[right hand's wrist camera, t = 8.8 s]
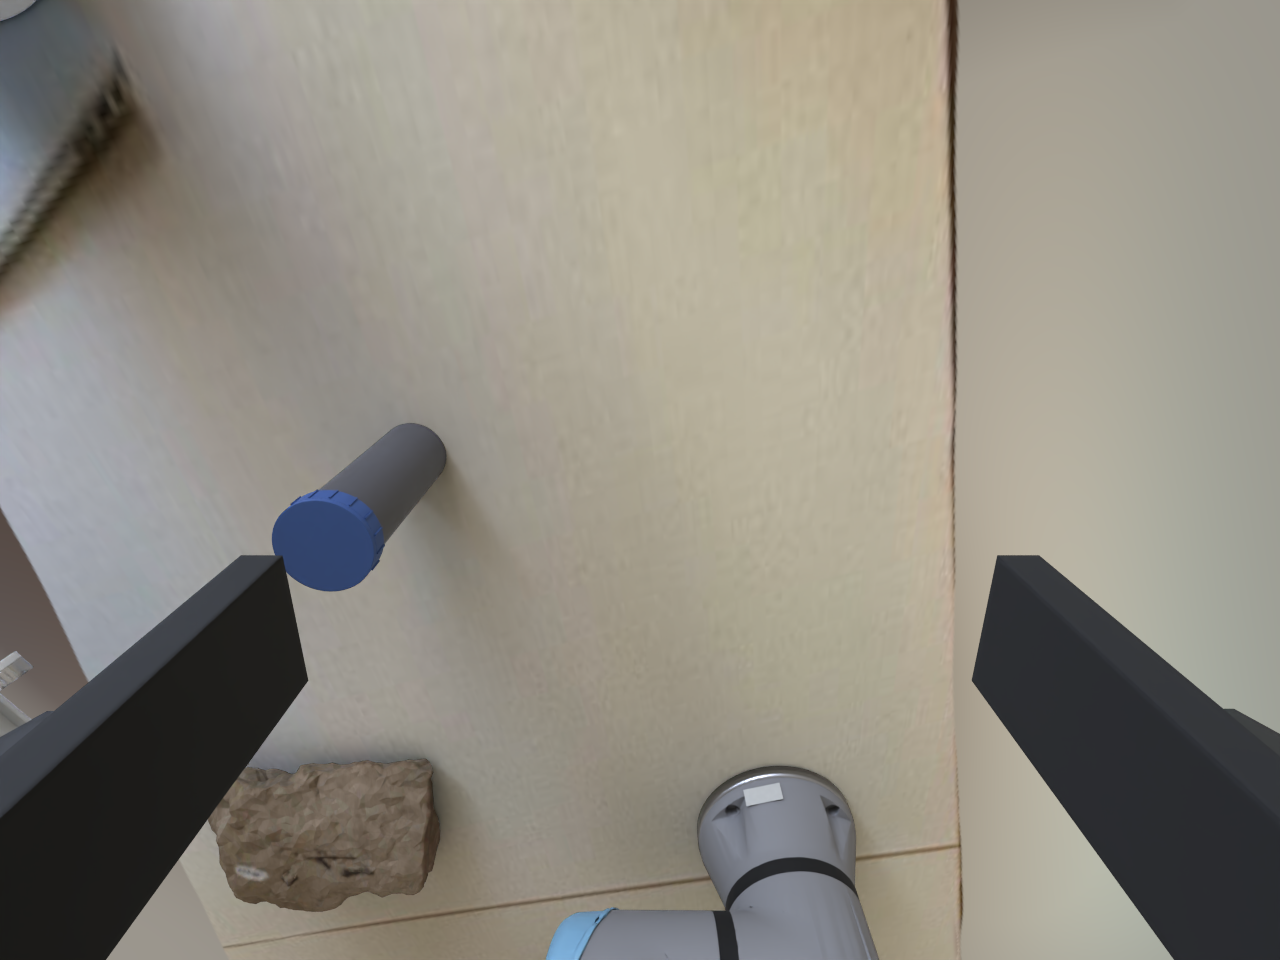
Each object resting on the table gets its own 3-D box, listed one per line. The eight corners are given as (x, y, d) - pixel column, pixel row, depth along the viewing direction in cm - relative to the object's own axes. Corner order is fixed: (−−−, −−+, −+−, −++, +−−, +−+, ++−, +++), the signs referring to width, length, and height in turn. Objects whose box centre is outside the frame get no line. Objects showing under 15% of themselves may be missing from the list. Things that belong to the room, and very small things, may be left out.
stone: (219, 890, 67) (190, 939, 61) (209, 747, 65) (178, 783, 59) (442, 868, 70) (435, 912, 64) (439, 732, 68) (432, 764, 63)
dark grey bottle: (454, 438, 54) (381, 522, 39) (435, 493, 56) (357, 594, 40) (392, 413, 53) (293, 489, 38) (374, 469, 55) (272, 564, 40)
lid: (396, 511, 40) (387, 523, 38) (369, 591, 42) (359, 605, 40) (298, 474, 39) (284, 484, 38) (275, 557, 41) (260, 570, 39)
